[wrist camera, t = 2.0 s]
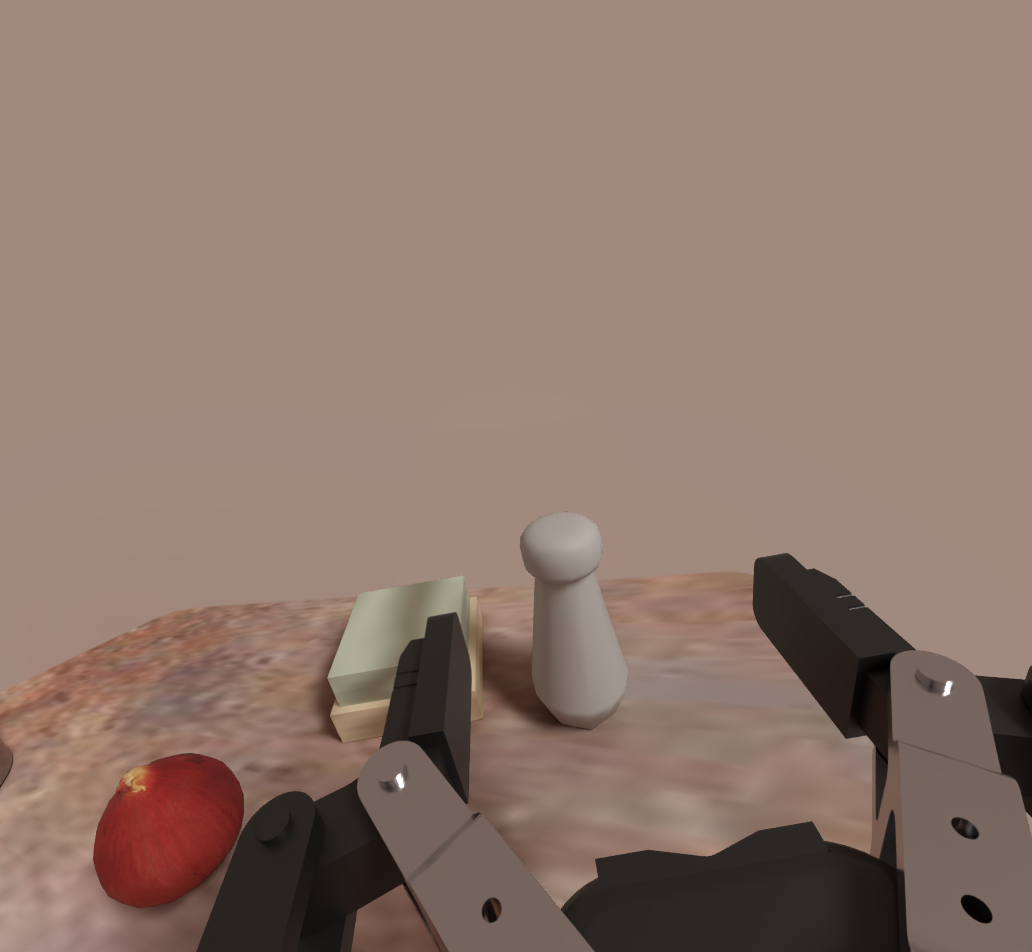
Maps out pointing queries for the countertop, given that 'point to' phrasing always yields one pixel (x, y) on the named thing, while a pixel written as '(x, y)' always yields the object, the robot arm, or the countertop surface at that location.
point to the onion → (167, 829)
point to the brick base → (395, 650)
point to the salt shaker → (571, 622)
